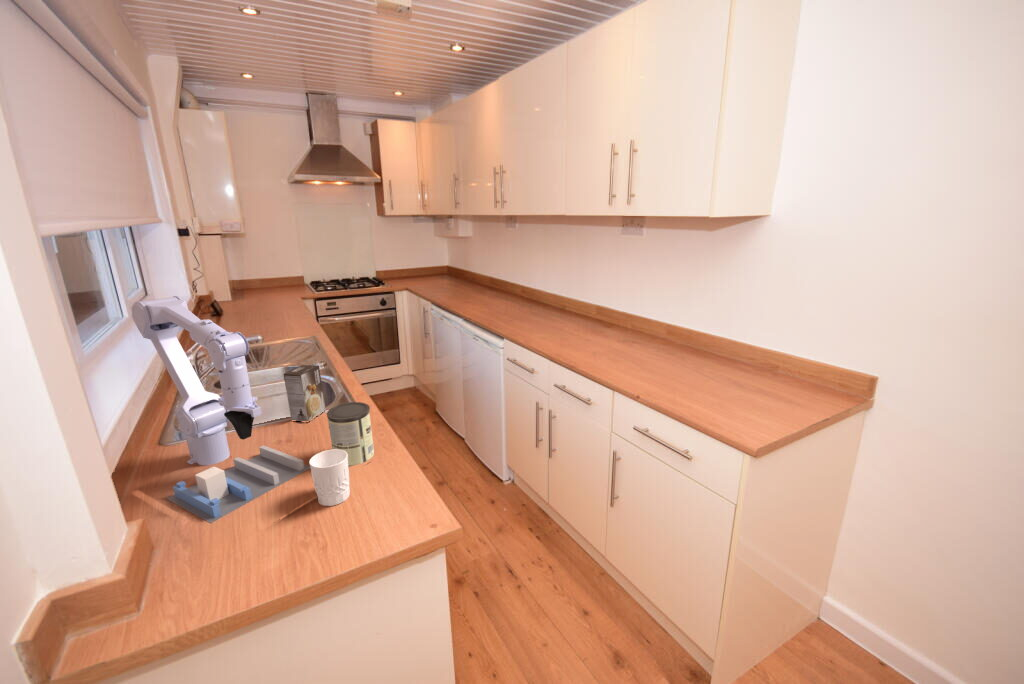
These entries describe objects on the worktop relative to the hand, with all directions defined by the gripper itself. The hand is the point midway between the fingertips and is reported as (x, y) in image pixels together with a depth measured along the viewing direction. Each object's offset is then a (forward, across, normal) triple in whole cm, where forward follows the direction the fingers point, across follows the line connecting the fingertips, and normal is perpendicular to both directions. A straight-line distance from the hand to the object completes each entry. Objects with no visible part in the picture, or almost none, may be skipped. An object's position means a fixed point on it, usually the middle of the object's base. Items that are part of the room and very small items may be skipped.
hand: (245, 437), depth 108 cm
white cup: (+10, -26, -4) cm, 28 cm away
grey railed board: (+10, -3, +4) cm, 11 cm away
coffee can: (+10, -17, -17) cm, 26 cm away
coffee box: (+10, +18, -29) cm, 35 cm away
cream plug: (+9, -3, +10) cm, 14 cm away
